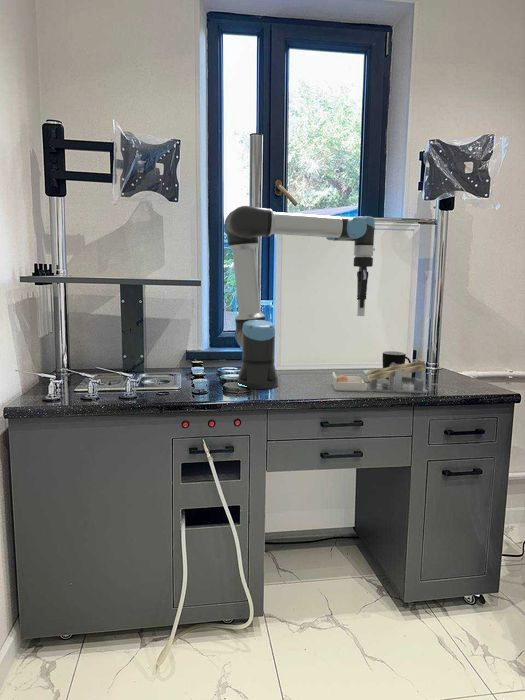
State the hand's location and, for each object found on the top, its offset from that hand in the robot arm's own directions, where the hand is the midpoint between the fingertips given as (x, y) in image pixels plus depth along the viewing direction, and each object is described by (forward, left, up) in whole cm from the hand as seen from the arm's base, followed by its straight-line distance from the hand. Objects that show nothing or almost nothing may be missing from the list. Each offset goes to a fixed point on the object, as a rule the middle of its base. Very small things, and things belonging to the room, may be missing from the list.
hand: (360, 315), depth 206 cm
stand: (+10, -24, -24) cm, 36 cm away
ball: (-9, -24, -22) cm, 34 cm away
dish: (-7, -24, -24) cm, 35 cm away
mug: (+15, -3, -25) cm, 29 cm away
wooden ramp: (+10, -20, -20) cm, 30 cm away
